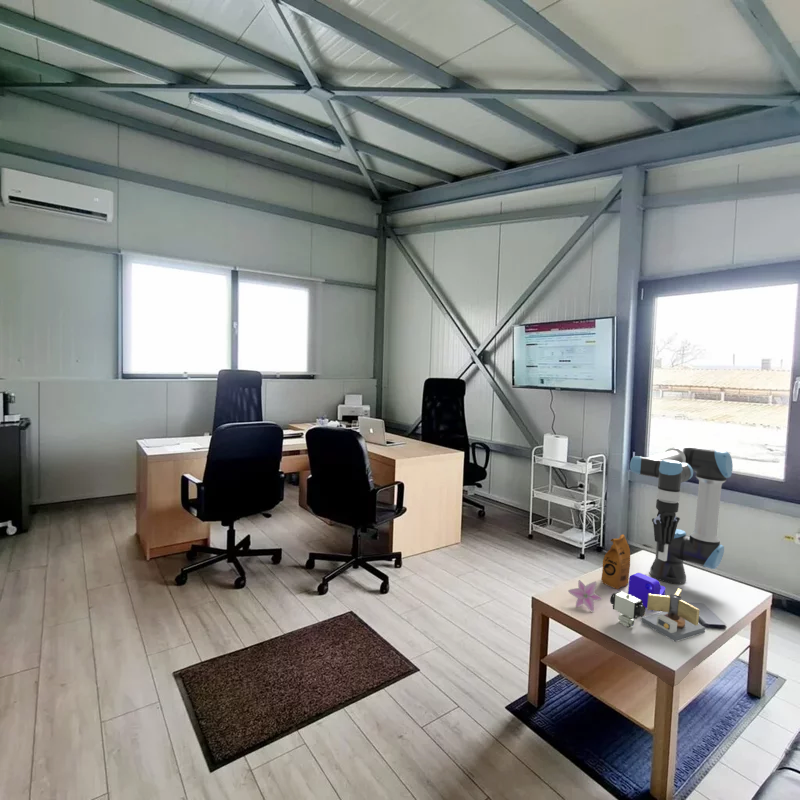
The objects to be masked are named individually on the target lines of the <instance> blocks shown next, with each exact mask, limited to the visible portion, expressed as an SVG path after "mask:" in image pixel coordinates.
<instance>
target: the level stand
mask: <svg viewBox="0 0 800 800" xmlns="http://www.w3.org/2000/svg"><path fill="white" fill-rule="evenodd" d="M665 614H668V612H662V611H658V612H656V613H652V614H648V615H643V617H641V623H642V624H644V625H646V626H648V627H649V628H651V629H652V630H654V631H656V632H657V633H659V634H661V635H663V636H665V637H666V638H667V639H670V640H672V641H673V642H678V641H682V640H685V639H688V638H692V637H694V636H699V635H701V634H704V633H705V632H706V626H703V625H701V624H699V623H698V625H694V624H692V623H690V622H689V621H687V620H685V619H684V620H685V627H684V628H677V622H675V621H674V620H672V619H670V618H668V617H666V616H664V615H665Z"/></svg>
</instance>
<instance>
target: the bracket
mask: <svg viewBox="0 0 800 800" xmlns="http://www.w3.org/2000/svg"><path fill="white" fill-rule="evenodd" d="M627 589H628V590H627V594H628V595H631V596H634V597H635V598H638V599H640V600H642V603H643V606H645V609H647V603H648V594H657V595H666V587H665V586H664V585H661V583H660V580H659V579H656V578H655V577H651V576H649V575H647V574H643V573H641V572H637V573H634V574H631V575H629V580H628V588H627ZM650 611H652V612H654V611H653V610H650Z"/></svg>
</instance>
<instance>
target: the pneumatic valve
mask: <svg viewBox="0 0 800 800" xmlns="http://www.w3.org/2000/svg"><path fill="white" fill-rule="evenodd" d="M609 599H610V600H609V603H610V604H611V605H612V610H615V611H616V612H618V613H620V614H618V616H617V619H618V620H619V621H618V623H619V624H620V625H622V626H625V627H627V628H630V626H631V627H632V626H634V624H635V620H637V619H639V618H642V617H644V616H645V614H646V608H645V606H643V603H642V600H640V599H638V598H635V597H634V596H631V595H628V593H626V592H624V591H621V590H619V591H617V592H613V593H612V594H611V595H610V598H609Z"/></svg>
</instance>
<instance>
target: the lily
mask: <svg viewBox="0 0 800 800" xmlns="http://www.w3.org/2000/svg"><path fill="white" fill-rule="evenodd" d="M577 582H578V588H577V587H576V588H570V589H568V590H567V591H568V594H570V595H571V596H573V597H575V598H576V603H575V607H576V606H577V607H576V608H579V607H581V606H583V605H585V607H586V608H587V609H588V610H589V611H590V612H591V611H592V612H591V613H594V612H595V602H596V601H601V600H603V598H602V597H601V596H600V595H598V594H596V593H595V592H596V588H597V581H592V582H589V583H588V584H587V585H585V583H584V582H583V581H581V579H578V581H577Z"/></svg>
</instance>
